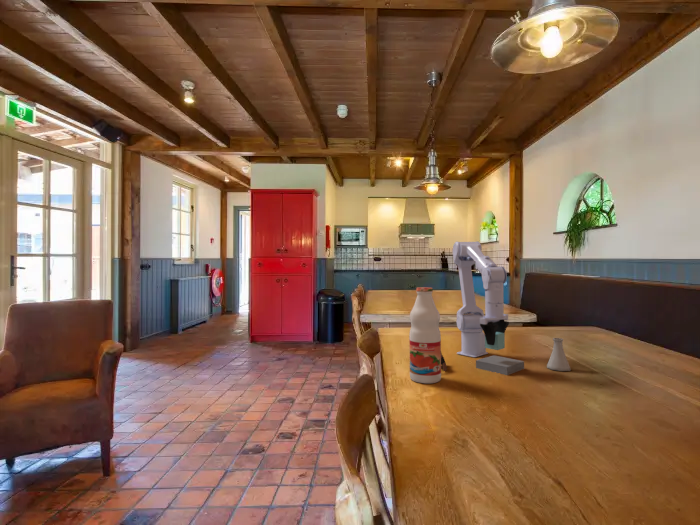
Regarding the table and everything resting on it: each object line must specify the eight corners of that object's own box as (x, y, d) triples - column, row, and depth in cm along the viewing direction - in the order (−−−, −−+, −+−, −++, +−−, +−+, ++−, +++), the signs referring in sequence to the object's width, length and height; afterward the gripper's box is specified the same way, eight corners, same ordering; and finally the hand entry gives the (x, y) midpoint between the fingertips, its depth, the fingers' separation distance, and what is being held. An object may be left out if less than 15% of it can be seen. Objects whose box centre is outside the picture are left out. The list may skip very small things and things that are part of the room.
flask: (574, 372, 119) (574, 341, 120) (550, 371, 121) (549, 340, 121) (566, 366, 127) (565, 336, 127) (543, 365, 128) (542, 336, 128)
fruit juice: (443, 376, 116) (442, 286, 116) (437, 385, 107) (436, 288, 108) (414, 373, 120) (413, 286, 120) (406, 381, 111) (405, 288, 111)
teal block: (492, 345, 127) (491, 331, 127) (504, 348, 124) (504, 333, 124) (485, 347, 125) (484, 332, 125) (497, 350, 121) (497, 334, 121)
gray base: (493, 363, 132) (493, 355, 132) (524, 370, 124) (524, 361, 124) (476, 369, 126) (475, 360, 126) (507, 376, 117) (506, 367, 117)
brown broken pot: (445, 375, 119) (432, 353, 119) (421, 384, 124) (408, 362, 124) (454, 358, 129) (441, 337, 129) (431, 366, 134) (419, 346, 134)
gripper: (493, 305, 117) (494, 348, 117) (516, 302, 126) (517, 342, 126) (473, 303, 122) (474, 345, 122) (497, 300, 131) (497, 339, 131)
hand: (494, 343), depth 124 cm, fingers closed on teal block, 4 cm apart
